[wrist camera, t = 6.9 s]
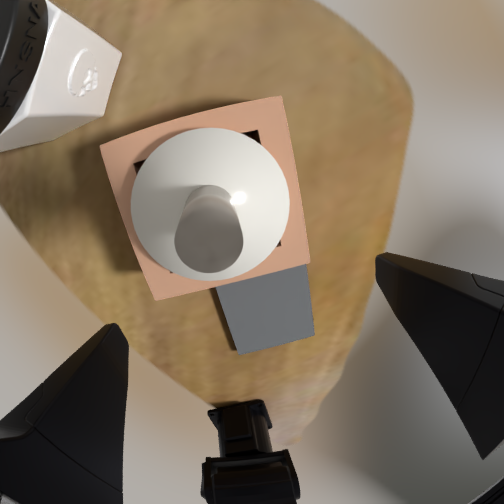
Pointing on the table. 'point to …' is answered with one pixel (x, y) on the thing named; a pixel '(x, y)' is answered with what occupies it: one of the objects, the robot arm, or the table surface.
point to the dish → (228, 117)
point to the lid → (210, 204)
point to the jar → (50, 72)
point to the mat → (268, 309)
